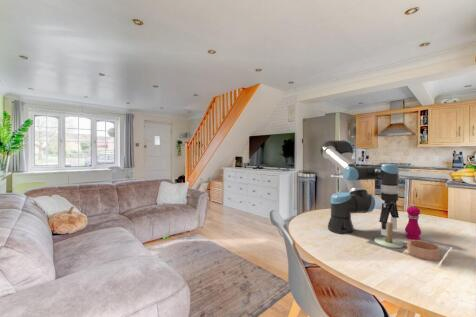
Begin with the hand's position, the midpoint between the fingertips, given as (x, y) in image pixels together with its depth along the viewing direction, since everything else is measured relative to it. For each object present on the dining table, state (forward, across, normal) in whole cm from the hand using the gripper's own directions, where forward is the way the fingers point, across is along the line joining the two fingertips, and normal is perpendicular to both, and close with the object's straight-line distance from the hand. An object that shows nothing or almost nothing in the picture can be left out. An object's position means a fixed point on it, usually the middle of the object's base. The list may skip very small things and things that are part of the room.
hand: (389, 232), depth 119 cm
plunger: (+6, 0, 0) cm, 6 cm away
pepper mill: (+7, +19, -6) cm, 21 cm away
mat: (+7, 0, 0) cm, 7 cm away
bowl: (+7, -1, -15) cm, 16 cm away
